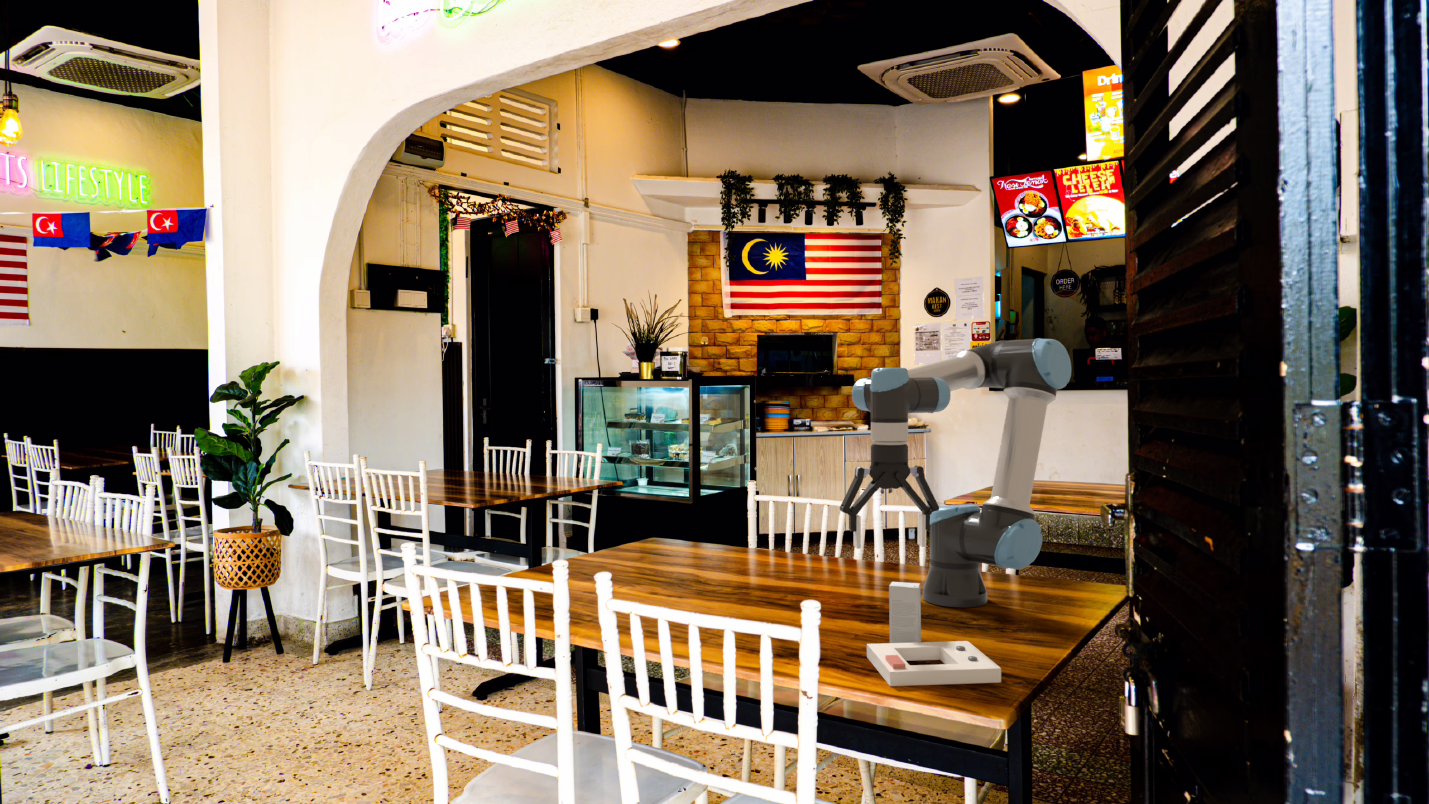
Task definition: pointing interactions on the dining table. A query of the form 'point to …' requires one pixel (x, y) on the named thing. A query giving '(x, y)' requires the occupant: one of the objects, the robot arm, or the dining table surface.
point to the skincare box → (904, 612)
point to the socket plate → (957, 669)
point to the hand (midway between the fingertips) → (889, 546)
